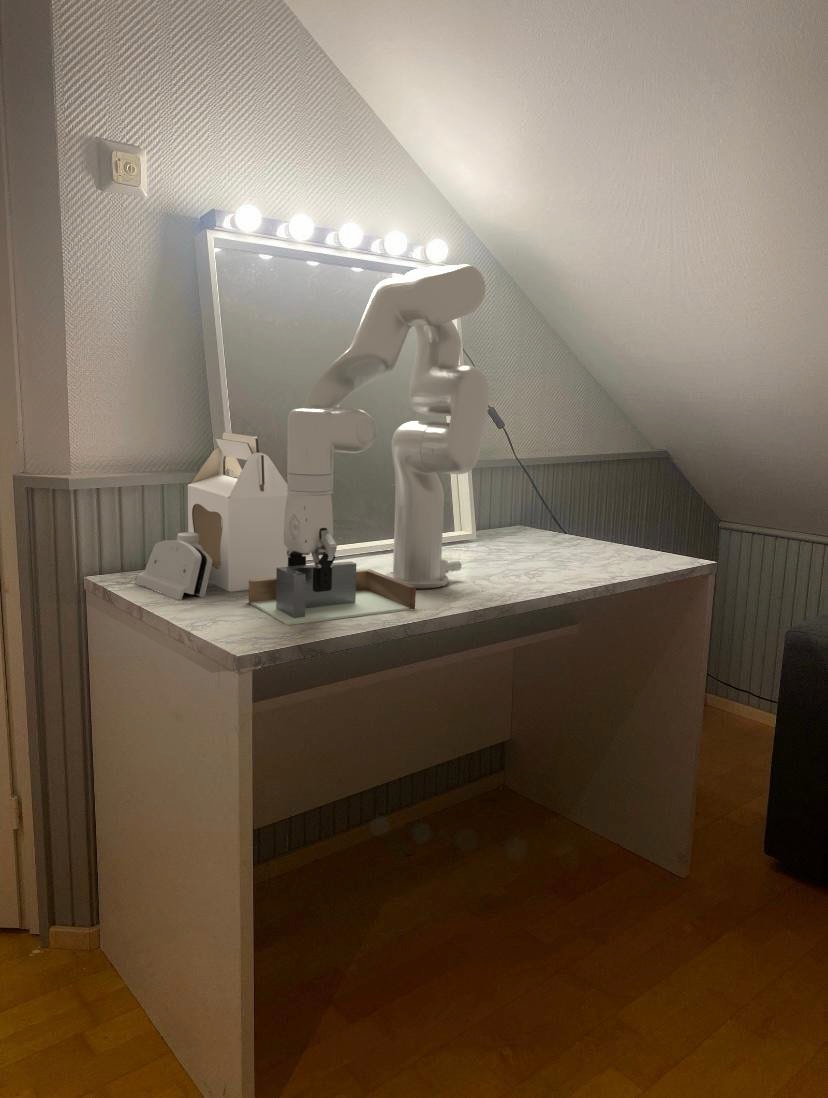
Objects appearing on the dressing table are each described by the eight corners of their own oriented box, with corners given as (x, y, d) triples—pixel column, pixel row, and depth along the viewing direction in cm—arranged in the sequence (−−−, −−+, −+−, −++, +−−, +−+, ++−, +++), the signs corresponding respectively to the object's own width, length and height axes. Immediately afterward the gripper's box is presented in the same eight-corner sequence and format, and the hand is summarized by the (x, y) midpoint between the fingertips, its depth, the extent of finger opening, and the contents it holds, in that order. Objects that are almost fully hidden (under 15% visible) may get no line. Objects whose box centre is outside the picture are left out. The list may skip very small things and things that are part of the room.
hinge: (134, 583, 157) (149, 532, 157) (156, 588, 160) (171, 538, 161) (179, 600, 145) (196, 545, 146) (202, 605, 148) (219, 551, 149)
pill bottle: (190, 575, 165) (189, 530, 164) (208, 579, 162) (208, 534, 161) (168, 579, 161) (168, 533, 159) (187, 583, 158) (186, 537, 157)
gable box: (187, 570, 170) (186, 431, 165) (248, 564, 178) (249, 431, 173) (229, 592, 152) (228, 437, 147) (295, 586, 159) (296, 438, 155)
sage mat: (366, 592, 156) (366, 589, 156) (409, 610, 144) (409, 607, 144) (251, 604, 144) (251, 602, 144) (287, 625, 132) (287, 622, 132)
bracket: (276, 608, 140) (276, 567, 139) (350, 600, 148) (350, 561, 147) (293, 618, 135) (294, 575, 133) (369, 609, 142) (370, 568, 141)
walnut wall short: (372, 591, 157) (372, 570, 156) (415, 609, 145) (415, 586, 144) (366, 592, 156) (367, 571, 156) (409, 610, 144) (410, 587, 144)
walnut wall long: (368, 590, 158) (369, 569, 157) (372, 591, 157) (372, 570, 156) (248, 602, 145) (248, 580, 144) (251, 604, 144) (251, 581, 143)
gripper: (268, 479, 144) (268, 577, 147) (312, 490, 130) (311, 598, 133) (307, 478, 148) (306, 573, 151) (355, 489, 134) (353, 593, 137)
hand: (309, 584), depth 142 cm, fingers open, 9 cm apart
